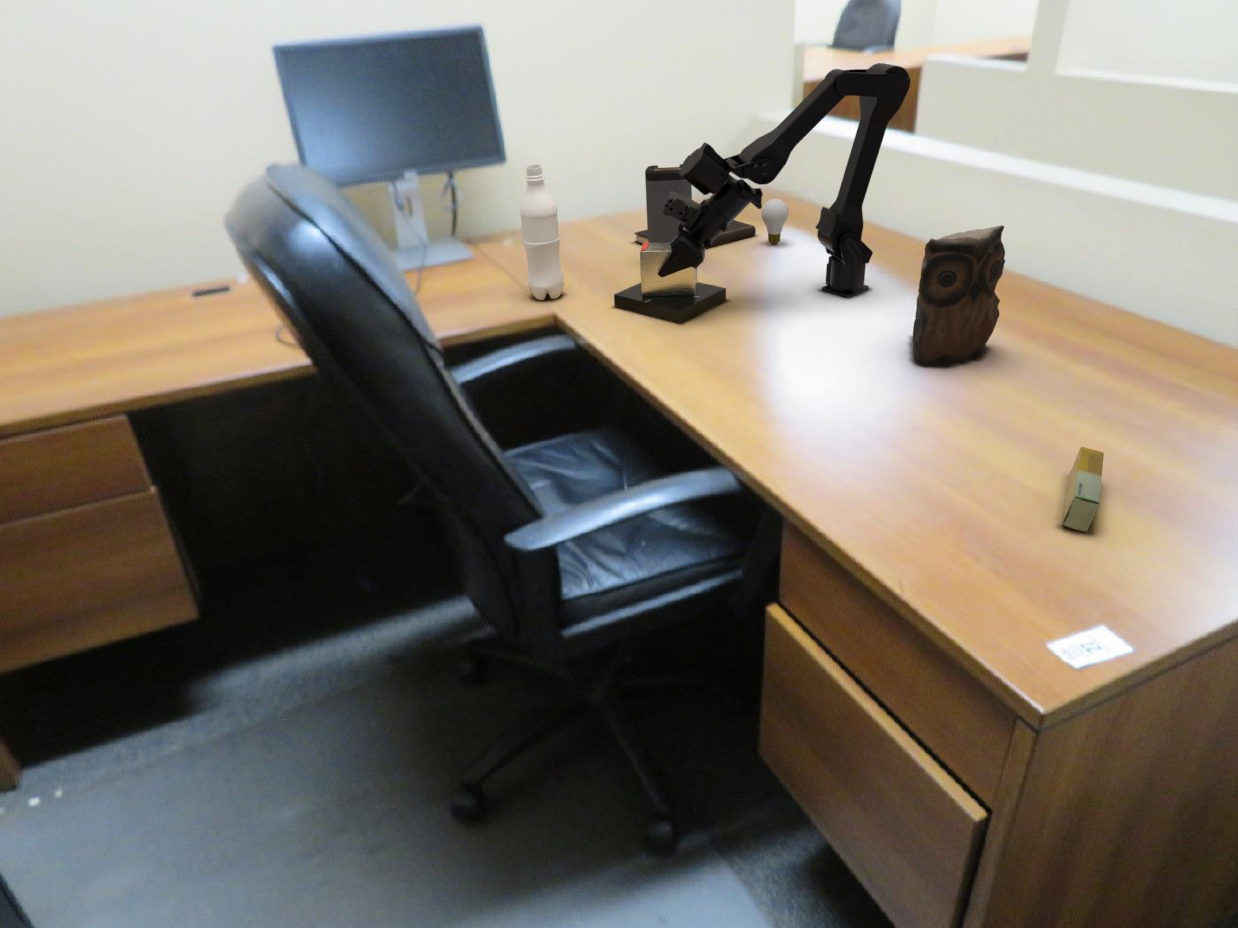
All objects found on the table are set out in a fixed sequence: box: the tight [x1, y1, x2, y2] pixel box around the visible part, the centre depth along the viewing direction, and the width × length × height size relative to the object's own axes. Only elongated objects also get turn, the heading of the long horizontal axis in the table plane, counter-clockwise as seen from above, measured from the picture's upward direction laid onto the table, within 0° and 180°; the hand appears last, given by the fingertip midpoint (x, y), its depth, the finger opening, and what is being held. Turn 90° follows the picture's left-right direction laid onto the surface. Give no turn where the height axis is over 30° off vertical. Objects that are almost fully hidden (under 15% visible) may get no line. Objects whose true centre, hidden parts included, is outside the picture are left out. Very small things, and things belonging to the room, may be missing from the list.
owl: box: [912, 224, 1006, 368], centre depth 130 cm, size 13×13×20 cm
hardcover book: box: [634, 219, 757, 249], centre depth 198 cm, size 16×23×2 cm
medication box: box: [1061, 446, 1105, 533], centre depth 97 cm, size 12×3×4 cm, turn 152°
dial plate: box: [613, 281, 727, 325], centre depth 162 cm, size 16×14×3 cm
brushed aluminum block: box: [639, 242, 698, 296], centre depth 159 cm, size 10×5×9 cm, turn 81°
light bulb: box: [760, 198, 790, 246], centre depth 188 cm, size 6×6×10 cm
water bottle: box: [519, 164, 565, 301], centre depth 164 cm, size 7×7×25 cm
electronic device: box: [644, 163, 693, 243], centre depth 179 cm, size 9×6×20 cm, turn 84°
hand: (662, 270), depth 159 cm, fingers closed on brushed aluminum block, 6 cm apart
